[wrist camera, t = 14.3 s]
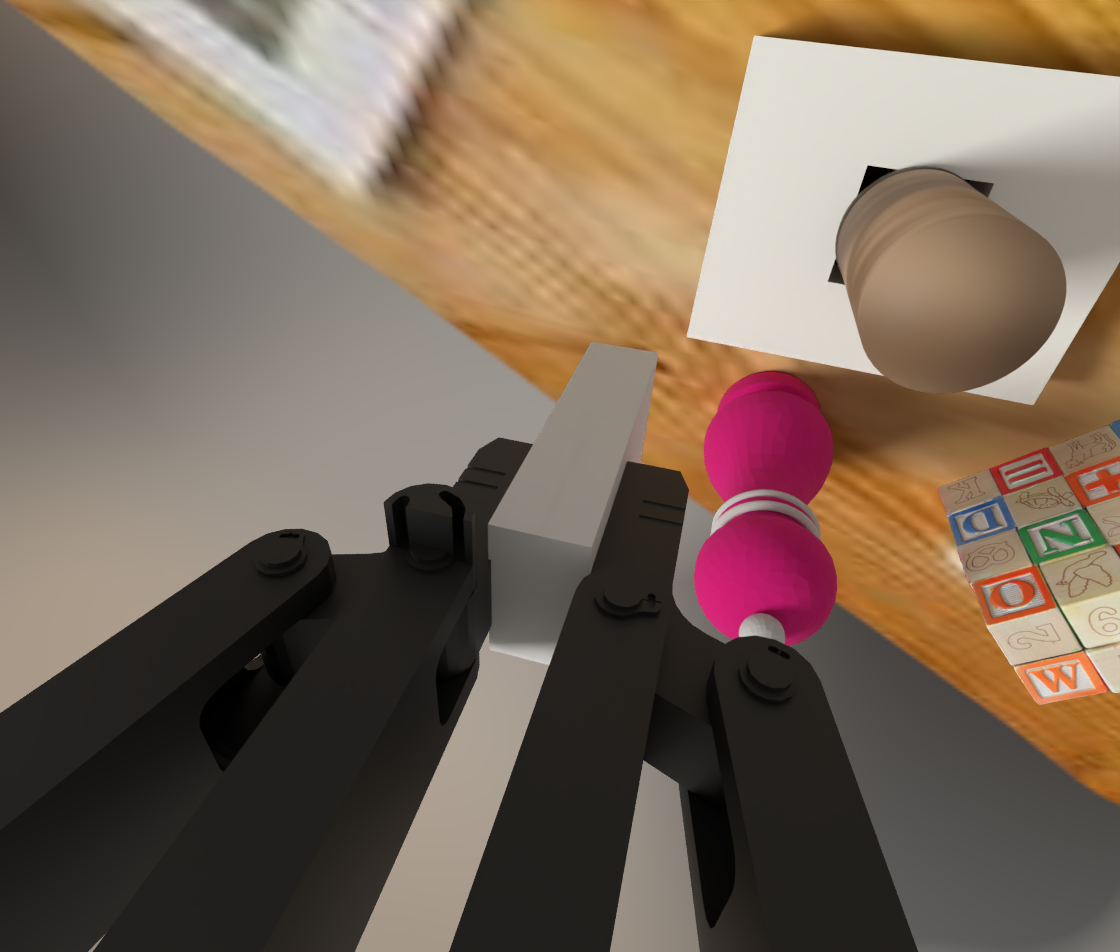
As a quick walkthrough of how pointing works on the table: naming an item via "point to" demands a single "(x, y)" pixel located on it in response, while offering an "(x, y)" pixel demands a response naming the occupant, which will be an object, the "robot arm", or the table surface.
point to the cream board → (898, 142)
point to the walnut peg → (945, 281)
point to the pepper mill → (767, 512)
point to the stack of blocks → (1048, 561)
